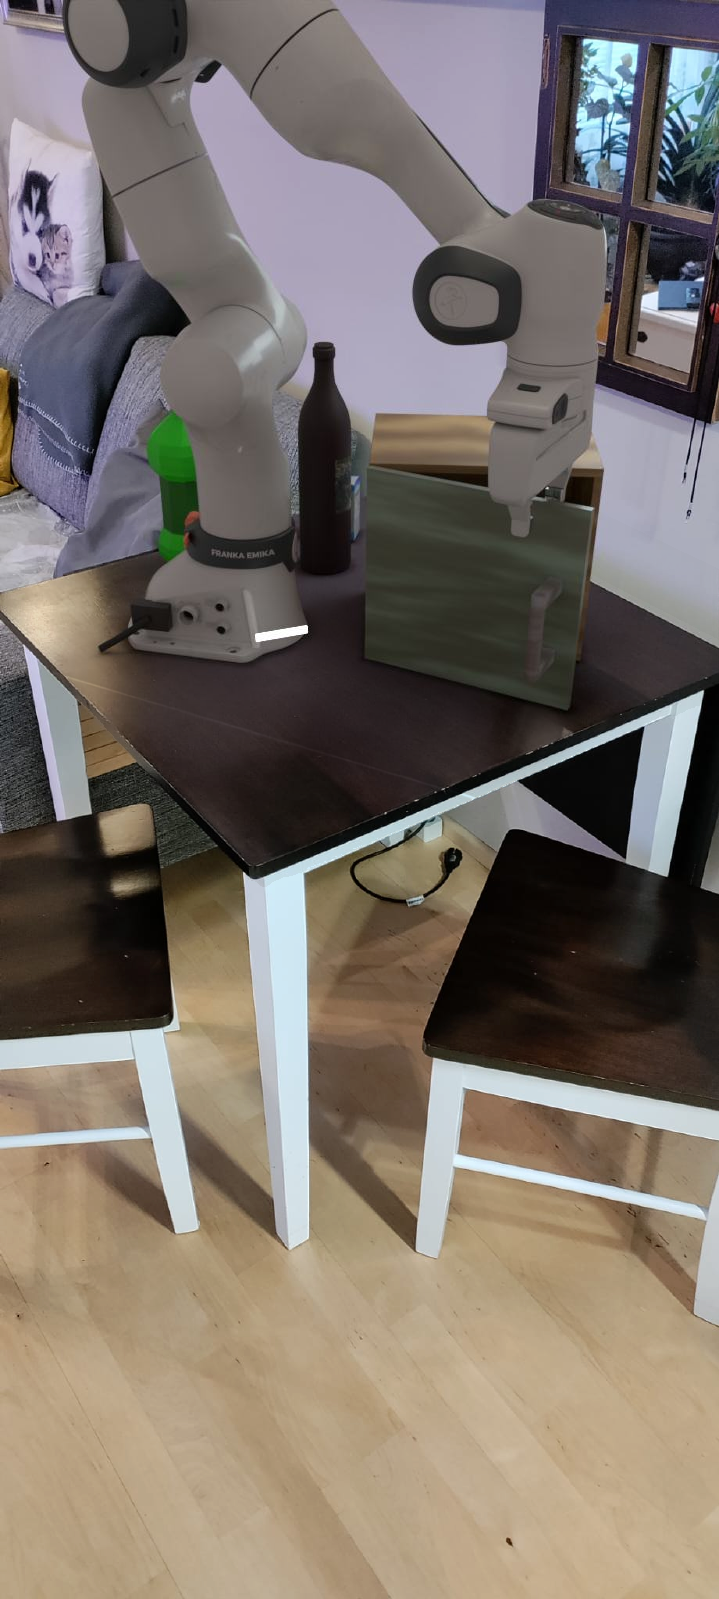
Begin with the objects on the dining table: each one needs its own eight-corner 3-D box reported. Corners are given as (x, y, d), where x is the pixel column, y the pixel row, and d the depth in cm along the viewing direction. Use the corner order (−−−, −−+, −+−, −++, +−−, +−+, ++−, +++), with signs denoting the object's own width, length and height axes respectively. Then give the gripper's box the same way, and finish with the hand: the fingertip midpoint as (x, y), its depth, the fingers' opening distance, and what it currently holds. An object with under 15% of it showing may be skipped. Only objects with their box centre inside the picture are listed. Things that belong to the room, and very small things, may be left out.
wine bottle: (340, 579, 167) (339, 354, 149) (292, 571, 169) (287, 348, 151) (357, 559, 172) (359, 340, 155) (311, 552, 174) (308, 334, 157)
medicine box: (301, 538, 178) (300, 481, 173) (307, 527, 182) (306, 470, 177) (354, 542, 177) (355, 484, 172) (359, 530, 181) (360, 474, 176)
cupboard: (580, 661, 148) (604, 468, 134) (366, 654, 149) (369, 462, 135) (567, 597, 163) (587, 417, 149) (373, 591, 164) (375, 412, 150)
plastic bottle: (154, 583, 165) (137, 397, 151) (164, 552, 174) (148, 373, 159) (228, 584, 165) (217, 398, 151) (234, 552, 174) (225, 374, 159)
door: (549, 734, 134) (572, 530, 120) (341, 678, 143) (341, 484, 130) (570, 706, 139) (594, 507, 125) (368, 654, 148) (370, 465, 135)
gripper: (556, 355, 128) (545, 482, 136) (479, 407, 113) (471, 546, 121) (614, 362, 126) (599, 491, 134) (543, 417, 111) (531, 558, 119)
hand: (538, 518), depth 127 cm, fingers open, 8 cm apart
